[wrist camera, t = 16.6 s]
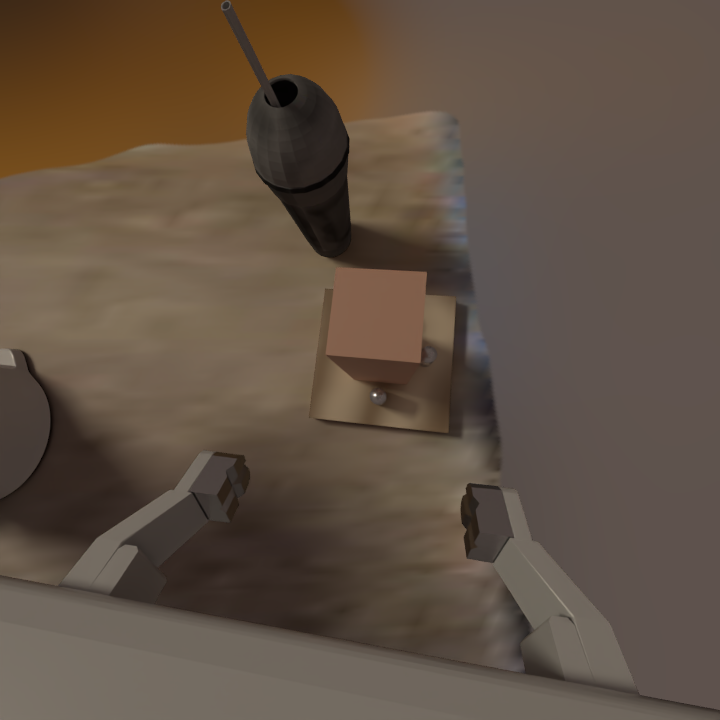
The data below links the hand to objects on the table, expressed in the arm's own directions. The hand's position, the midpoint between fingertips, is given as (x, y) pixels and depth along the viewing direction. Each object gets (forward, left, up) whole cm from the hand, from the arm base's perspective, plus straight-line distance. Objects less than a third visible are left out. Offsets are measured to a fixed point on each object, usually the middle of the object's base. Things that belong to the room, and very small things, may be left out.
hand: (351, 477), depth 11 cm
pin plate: (0, +8, -19) cm, 20 cm away
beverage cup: (-7, +21, -19) cm, 29 cm away
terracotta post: (0, +8, -17) cm, 19 cm away
